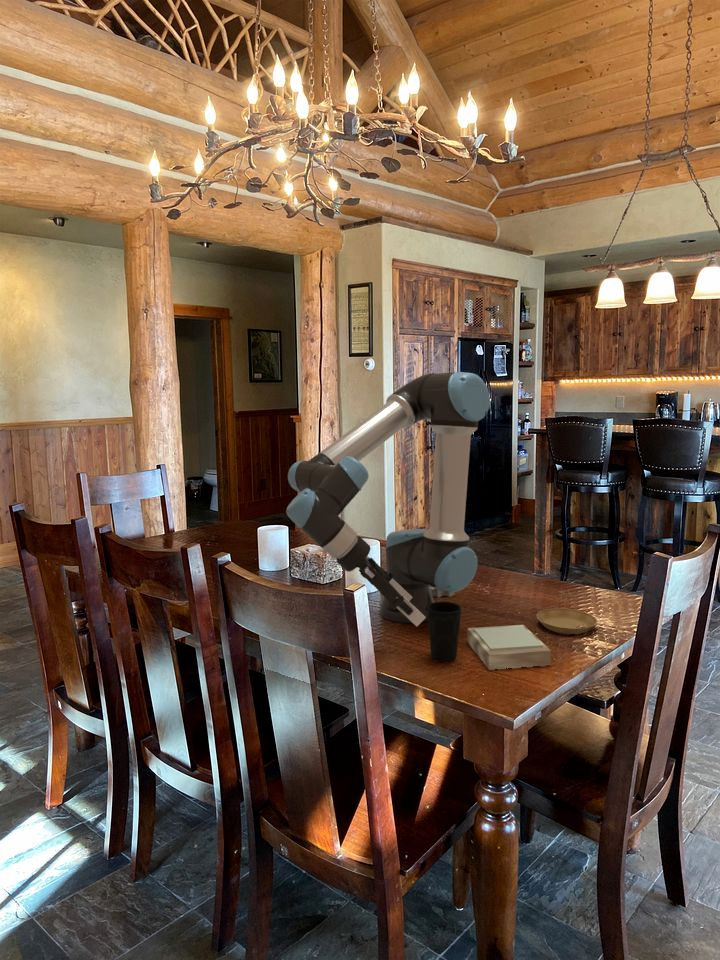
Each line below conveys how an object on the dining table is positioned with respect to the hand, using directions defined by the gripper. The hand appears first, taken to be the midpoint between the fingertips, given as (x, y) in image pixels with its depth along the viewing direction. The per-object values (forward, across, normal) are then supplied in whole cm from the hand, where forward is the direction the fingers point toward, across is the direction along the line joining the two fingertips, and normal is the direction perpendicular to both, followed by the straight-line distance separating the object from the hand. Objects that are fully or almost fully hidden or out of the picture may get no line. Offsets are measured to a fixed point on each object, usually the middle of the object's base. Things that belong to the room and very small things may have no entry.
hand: (414, 611), depth 145 cm
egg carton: (+20, -47, +3) cm, 51 cm away
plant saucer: (+39, -15, +22) cm, 47 cm away
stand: (+24, -1, +7) cm, 25 cm away
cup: (+13, -1, -3) cm, 14 cm away
